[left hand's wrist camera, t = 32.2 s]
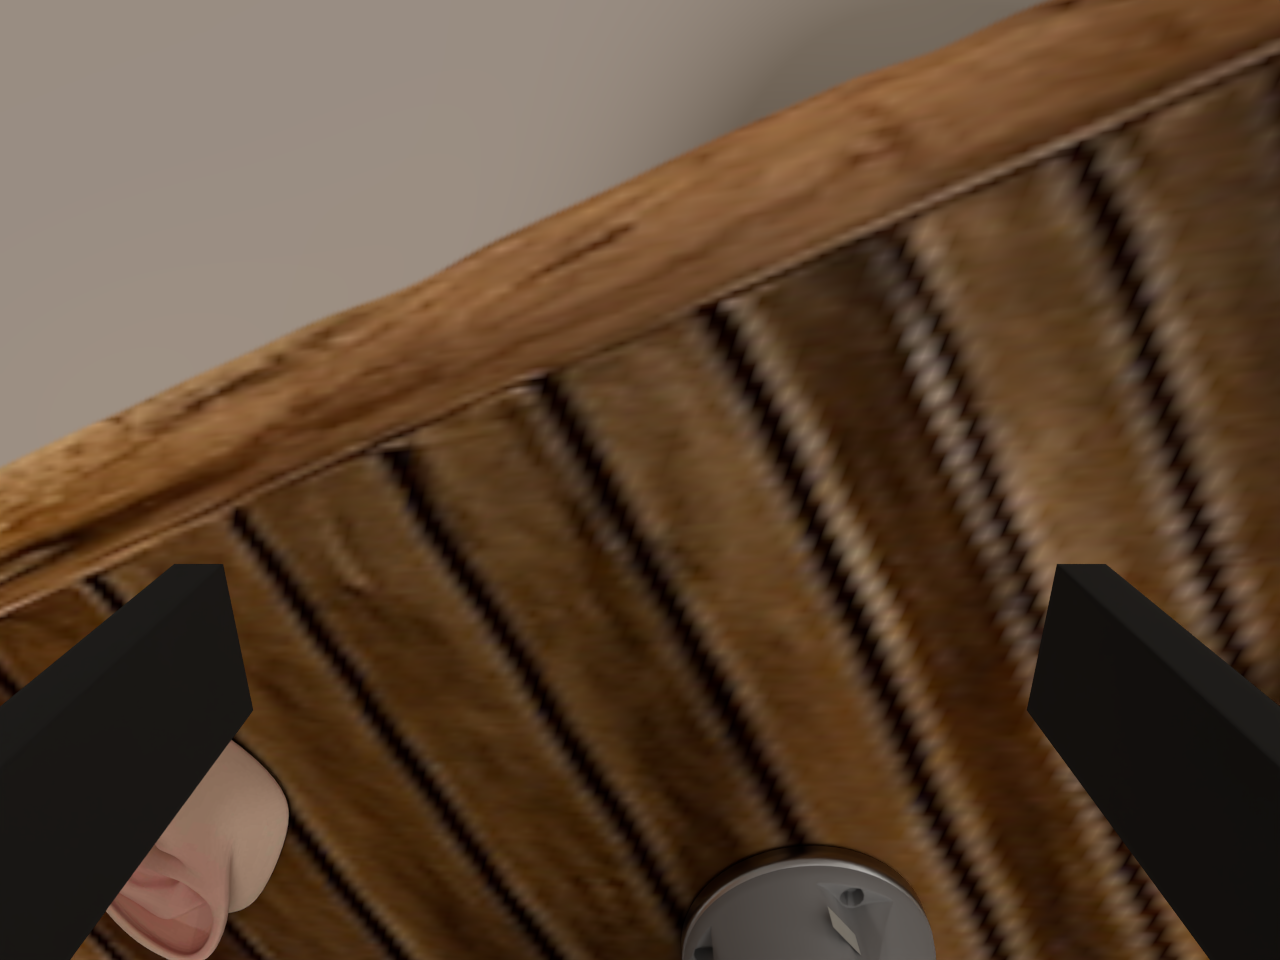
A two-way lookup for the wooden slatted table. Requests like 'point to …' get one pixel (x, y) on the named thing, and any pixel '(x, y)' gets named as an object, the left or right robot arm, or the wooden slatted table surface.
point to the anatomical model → (206, 860)
